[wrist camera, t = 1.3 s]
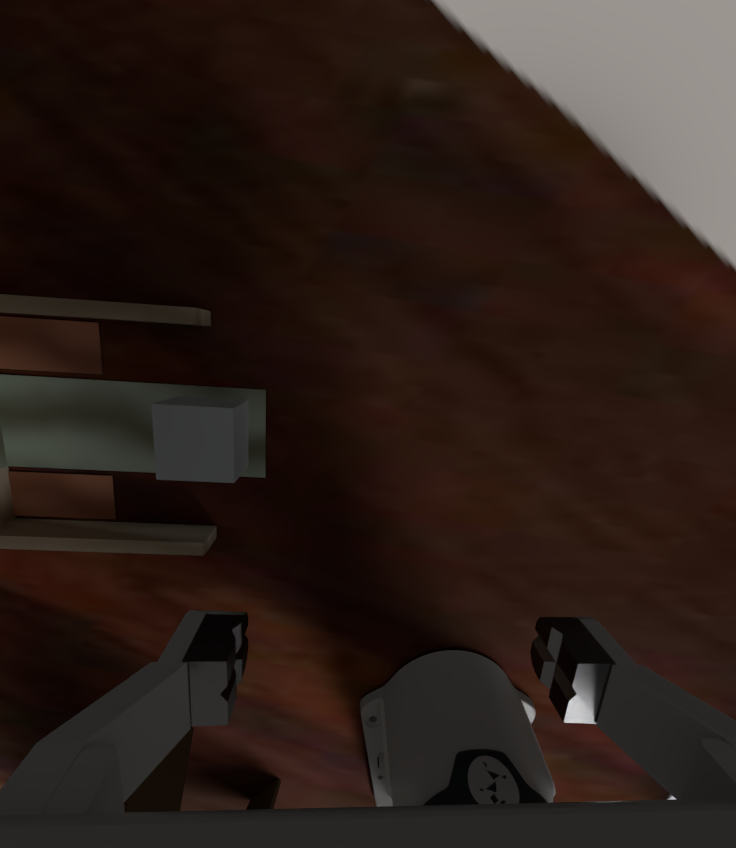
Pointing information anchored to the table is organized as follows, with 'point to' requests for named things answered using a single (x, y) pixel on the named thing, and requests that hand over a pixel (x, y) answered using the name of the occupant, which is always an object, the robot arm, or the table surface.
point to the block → (200, 439)
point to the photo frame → (181, 784)
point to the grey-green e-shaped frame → (89, 430)
